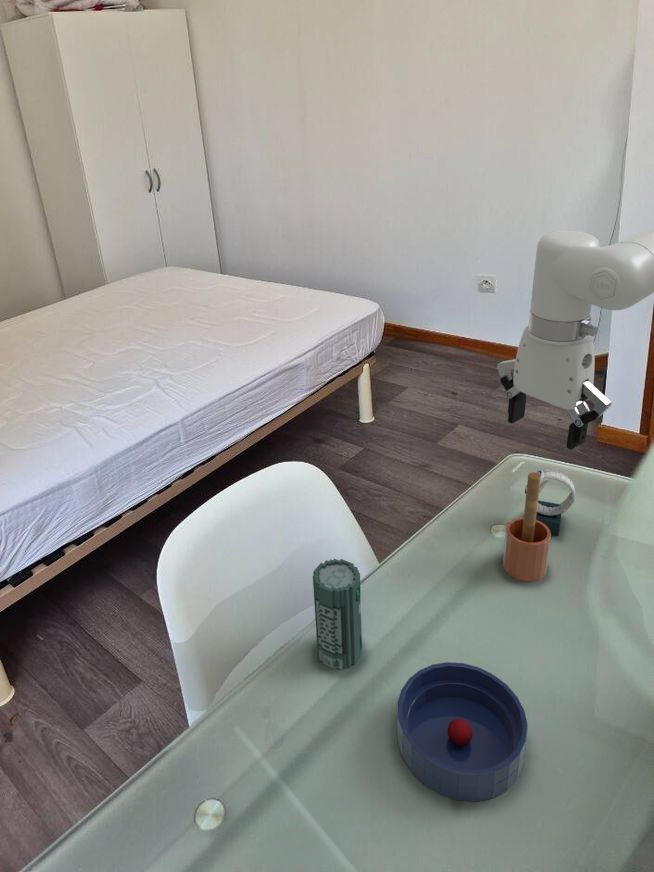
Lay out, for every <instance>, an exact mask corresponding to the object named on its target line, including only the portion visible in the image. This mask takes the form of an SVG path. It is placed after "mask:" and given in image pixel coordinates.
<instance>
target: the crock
mask: <svg viewBox="0 0 654 872" xmlns="http://www.w3.org/2000/svg"><path fill="white" fill-rule="evenodd" d="M523 519H524V517H517V518H513V519H511V520H510V521H508V522H507V524H506V527H505V534H504V535H505V536H504V545H503V555H502V556H503V557H502V567H503V569H504V571H505V573H506V574H507V575H508V576H510V577H511V578H513V579H515V580H517V581H521V582H525V583H533V582H537V581H540V580H543V578H544V577H545V576H546V573H547V569H548V560H549V552H550V546H551V538H552V535H551V532H550V529H549V528H548V527H547V526H546V525H545V524H544V523H542V522H540V521H538V520H536V522H535V531H534V539H533V543H530V542H525V541H521V538H522V528H523Z"/></svg>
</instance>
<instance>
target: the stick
mask: <svg viewBox="0 0 654 872" xmlns="http://www.w3.org/2000/svg"><path fill="white" fill-rule="evenodd" d="M540 479H541V475H540V474H538V473H537V472H533V471H532V472H529V473H528V474H527V483H526V486H527V491H526V494H525V501H524V509H523V518H524V519H523V528H522V538H521V541H525V542H530V543H533V539H534V531H535V522H536V514H537V505H538V500H539V498H540V497H539V496H540V493H539V488H540Z"/></svg>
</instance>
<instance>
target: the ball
mask: <svg viewBox="0 0 654 872" xmlns="http://www.w3.org/2000/svg"><path fill="white" fill-rule="evenodd" d="M447 733H448V736H449V739H450V740H451V741H452V742H453V743H454V744H455V745H458V746H465V745H467V744H468V743H469V742H470V741H471V739H472V729H471V727H470V725H469V724H468V723H467V722H466V721H465V720H463V719H454V720H453V721H451V722H450V724H449V725H448V729H447Z"/></svg>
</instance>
